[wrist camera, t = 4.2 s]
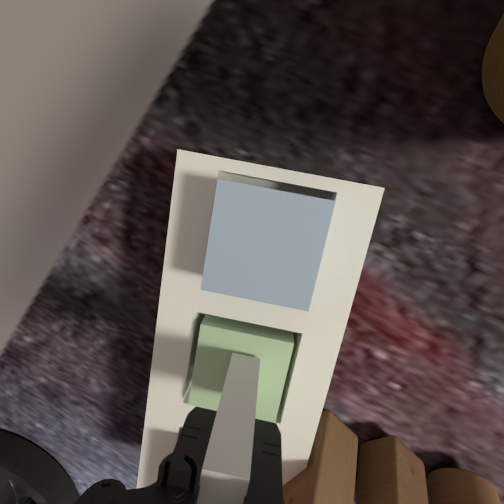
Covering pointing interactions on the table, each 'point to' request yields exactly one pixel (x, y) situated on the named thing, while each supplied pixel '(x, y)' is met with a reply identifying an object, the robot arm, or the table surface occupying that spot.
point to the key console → (251, 304)
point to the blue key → (265, 244)
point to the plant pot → (495, 71)
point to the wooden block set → (377, 473)
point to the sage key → (245, 343)
